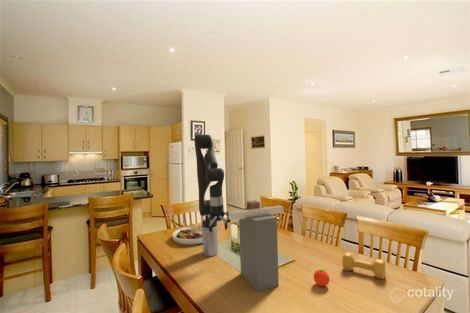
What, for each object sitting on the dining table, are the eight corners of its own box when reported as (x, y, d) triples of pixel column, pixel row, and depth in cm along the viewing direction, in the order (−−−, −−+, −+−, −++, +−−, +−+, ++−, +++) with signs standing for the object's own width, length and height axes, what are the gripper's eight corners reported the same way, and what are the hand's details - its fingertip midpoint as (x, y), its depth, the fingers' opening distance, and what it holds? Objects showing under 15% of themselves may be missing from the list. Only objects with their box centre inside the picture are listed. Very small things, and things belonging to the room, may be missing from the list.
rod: (228, 219, 111) (228, 212, 111) (280, 211, 122) (279, 205, 122) (231, 220, 108) (230, 214, 108) (283, 212, 119) (283, 206, 119)
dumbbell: (386, 274, 119) (386, 258, 119) (384, 282, 112) (384, 265, 112) (345, 264, 130) (345, 249, 130) (341, 271, 123) (340, 255, 123)
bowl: (169, 236, 184) (169, 225, 184) (206, 229, 197) (206, 220, 197) (177, 250, 157) (177, 238, 157) (220, 241, 170) (219, 230, 170)
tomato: (317, 278, 117) (317, 264, 117) (332, 283, 113) (332, 268, 113) (311, 286, 111) (311, 270, 111) (326, 291, 107) (326, 275, 106)
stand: (240, 273, 124) (238, 211, 123) (259, 268, 128) (257, 209, 128) (257, 292, 107) (255, 220, 107) (278, 285, 112) (276, 217, 111)
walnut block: (246, 211, 124) (246, 201, 124) (255, 210, 126) (255, 200, 126) (251, 213, 119) (250, 203, 119) (260, 212, 121) (259, 202, 121)
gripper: (227, 199, 142) (228, 226, 144) (203, 203, 138) (205, 229, 140) (230, 203, 135) (232, 231, 137) (205, 207, 131) (207, 235, 133)
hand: (218, 230), depth 139 cm, fingers open, 8 cm apart
